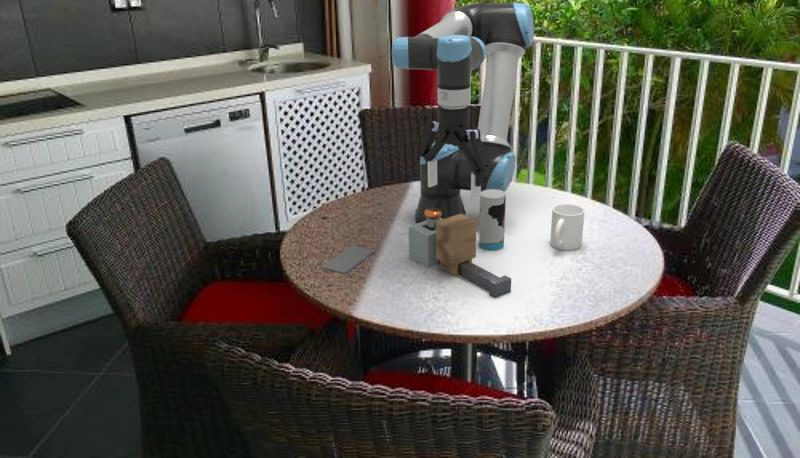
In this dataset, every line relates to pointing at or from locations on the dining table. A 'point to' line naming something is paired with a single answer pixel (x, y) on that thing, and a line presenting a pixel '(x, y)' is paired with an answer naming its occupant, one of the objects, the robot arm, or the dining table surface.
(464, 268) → the rail
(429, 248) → the grey block with hole
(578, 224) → the mug
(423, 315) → the dining table surface
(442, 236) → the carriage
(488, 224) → the white printed can
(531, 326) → the dining table surface
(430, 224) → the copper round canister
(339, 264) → the smartphone
